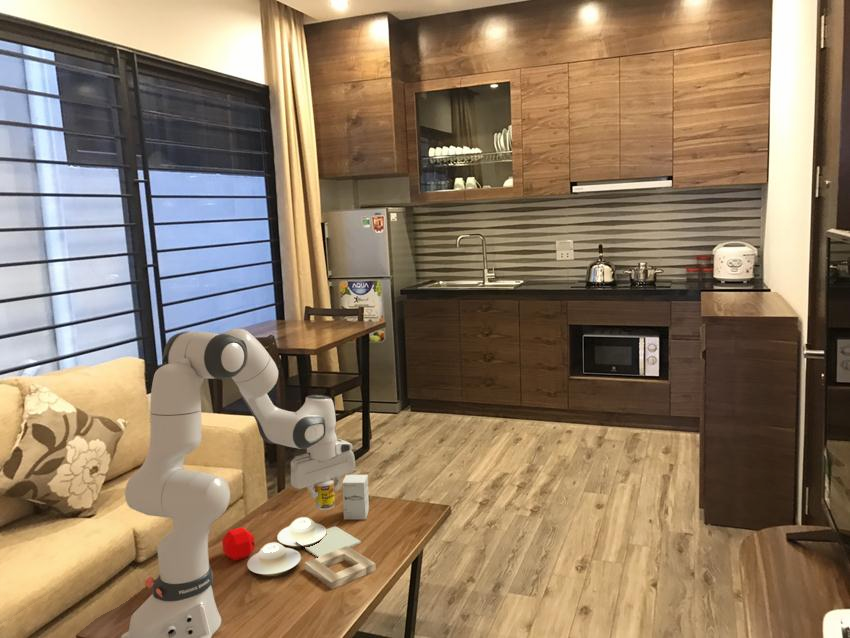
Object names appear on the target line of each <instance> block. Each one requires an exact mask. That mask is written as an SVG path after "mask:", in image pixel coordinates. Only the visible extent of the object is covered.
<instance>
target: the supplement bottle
mask: <svg viewBox="0 0 850 638" xmlns="http://www.w3.org/2000/svg"><path fill="white" fill-rule="evenodd" d="M334 481H335V480H334V478H332V479H329V476H326V479H325V481H323V482H320V483H317V484H314V490H316V491H317V492H318V497H317V498H315V507H316V508H317V510H320V511H327V510H331V509H334V507H335V506H336V505H335V504H336V502H335V500H336V499H335V492H334Z"/></svg>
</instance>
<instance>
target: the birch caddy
mask: <svg viewBox="0 0 850 638" xmlns="http://www.w3.org/2000/svg"><path fill="white" fill-rule="evenodd" d="M344 561H345V562H346V563H348V564H350V565H351V566H349V567H347V568H345V569H341V570H340V571H337V572H334V570H332V569H330V568H329V567H331V566H333V565H336V564H338V563H341V562H344ZM304 570H305V571H306V572H308V573H309V574H310V573H311V574H310V575H312V576H313V577H315V578H316V577H317V578H318V579H317V578H316V579H317V580H319V581H320V580H321V581H322V582H321V581H320V582H321V583H323V584H324V583H325V584H326V585H325V584H324V585H325V586H327V587H328V588H329V589H331V590H334V589H336V588H339V587H341V586H343V585H346V584H348V583H350V582H352V581H356V580H357V579H360V578H362V577H363V576H366V575H368V574H371V573H373V572H375V571H377V566H376V563H375V562H374V561H372V560H371V559H369V558H368V557H366V556H364V555H363V554H361V553H360V552H358V551H356V550H355V549H353V548H352V547H348V546H346V547H343V548H341V549H338V550H335V551H333V552H330V553H328V554H325V555H323V556H320V557H318V558H317V557H315V558H313V559H310V560H308V561H305V562H304Z"/></svg>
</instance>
